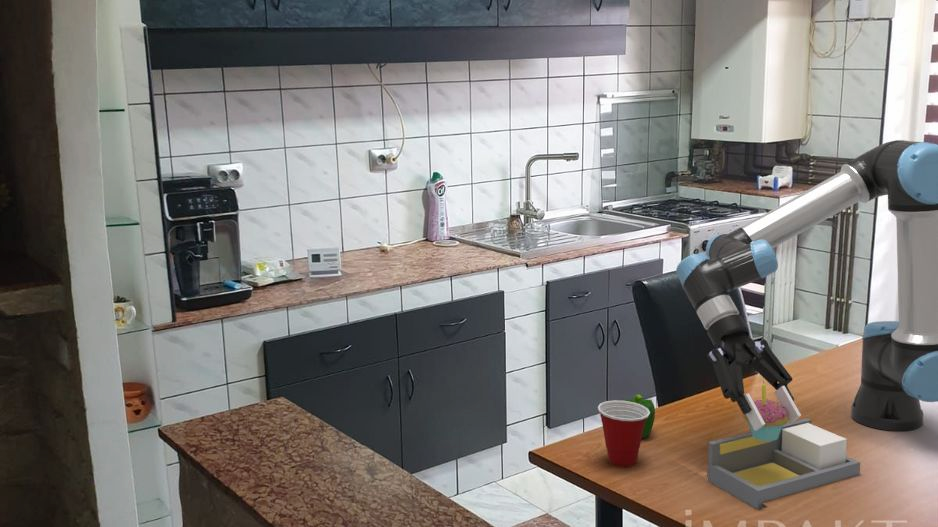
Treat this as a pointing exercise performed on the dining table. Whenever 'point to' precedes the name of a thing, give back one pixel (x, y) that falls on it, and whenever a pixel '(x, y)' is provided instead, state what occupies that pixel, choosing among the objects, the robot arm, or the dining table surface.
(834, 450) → the blank block
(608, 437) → the plastic cup
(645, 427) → the bell pepper
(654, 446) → the dining table surface
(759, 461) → the tray
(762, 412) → the cupcake
